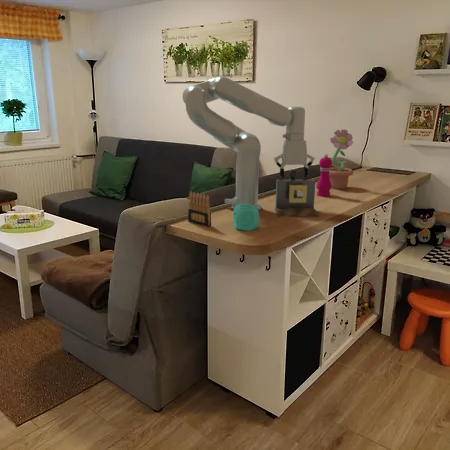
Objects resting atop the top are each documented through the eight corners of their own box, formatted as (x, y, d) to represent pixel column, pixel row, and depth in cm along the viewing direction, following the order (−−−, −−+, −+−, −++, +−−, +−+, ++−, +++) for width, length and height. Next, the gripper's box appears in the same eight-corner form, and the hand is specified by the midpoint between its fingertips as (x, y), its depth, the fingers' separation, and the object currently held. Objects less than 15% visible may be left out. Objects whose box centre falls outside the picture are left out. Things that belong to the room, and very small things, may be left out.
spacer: (289, 202, 186) (290, 185, 184) (288, 201, 187) (289, 185, 185) (306, 202, 186) (307, 185, 184) (305, 201, 188) (306, 184, 186)
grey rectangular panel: (276, 208, 191) (277, 180, 188) (275, 207, 193) (276, 179, 190) (313, 208, 192) (315, 180, 189) (312, 206, 194) (314, 179, 190)
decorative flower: (322, 189, 235) (326, 130, 226) (323, 184, 247) (327, 128, 239) (352, 191, 231) (357, 131, 223) (351, 185, 244) (356, 129, 236)
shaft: (296, 196, 182) (297, 176, 180) (288, 187, 198) (289, 169, 196) (303, 196, 182) (304, 176, 180) (294, 187, 199) (295, 169, 196)
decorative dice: (254, 224, 172) (254, 203, 170) (258, 230, 164) (259, 209, 162) (233, 225, 171) (233, 204, 169) (237, 231, 163) (237, 209, 161)
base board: (279, 216, 183) (279, 213, 182) (275, 209, 193) (275, 207, 193) (318, 216, 184) (318, 213, 183) (312, 209, 194) (312, 206, 194)
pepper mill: (320, 197, 217) (322, 155, 212) (313, 194, 224) (315, 153, 218) (333, 196, 219) (336, 154, 213) (326, 193, 226) (329, 152, 220)
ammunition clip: (211, 226, 169) (211, 194, 166) (207, 227, 168) (207, 195, 165) (191, 220, 176) (191, 190, 173) (188, 221, 175) (187, 191, 172)
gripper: (275, 138, 187) (274, 179, 192) (317, 137, 188) (315, 178, 193) (273, 136, 194) (272, 176, 199) (313, 136, 195) (311, 175, 200)
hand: (293, 177), depth 196 cm, fingers open, 9 cm apart
